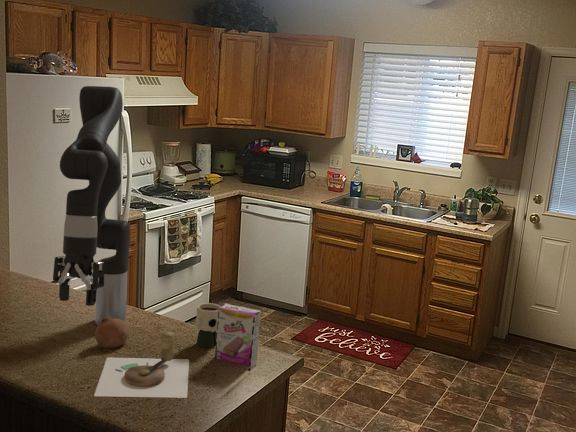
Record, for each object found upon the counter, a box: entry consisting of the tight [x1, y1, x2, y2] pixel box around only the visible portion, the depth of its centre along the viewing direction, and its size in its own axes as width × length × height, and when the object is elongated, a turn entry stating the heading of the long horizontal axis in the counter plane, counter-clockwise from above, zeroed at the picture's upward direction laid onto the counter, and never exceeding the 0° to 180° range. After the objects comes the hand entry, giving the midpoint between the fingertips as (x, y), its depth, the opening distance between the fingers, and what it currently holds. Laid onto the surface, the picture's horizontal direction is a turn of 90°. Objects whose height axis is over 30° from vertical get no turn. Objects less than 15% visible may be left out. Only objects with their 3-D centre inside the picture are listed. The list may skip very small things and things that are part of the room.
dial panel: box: [93, 357, 190, 399], centre depth 165 cm, size 22×22×2 cm
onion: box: [94, 317, 130, 349], centre depth 183 cm, size 10×9×10 cm
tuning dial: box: [125, 331, 175, 387], centre depth 166 cm, size 17×10×8 cm, turn 158°
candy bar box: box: [214, 303, 262, 371], centre depth 179 cm, size 11×5×16 cm, turn 71°
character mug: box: [195, 302, 222, 349], centre depth 188 cm, size 11×7×13 cm, turn 147°
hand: (77, 302), depth 152 cm, fingers open, 8 cm apart
